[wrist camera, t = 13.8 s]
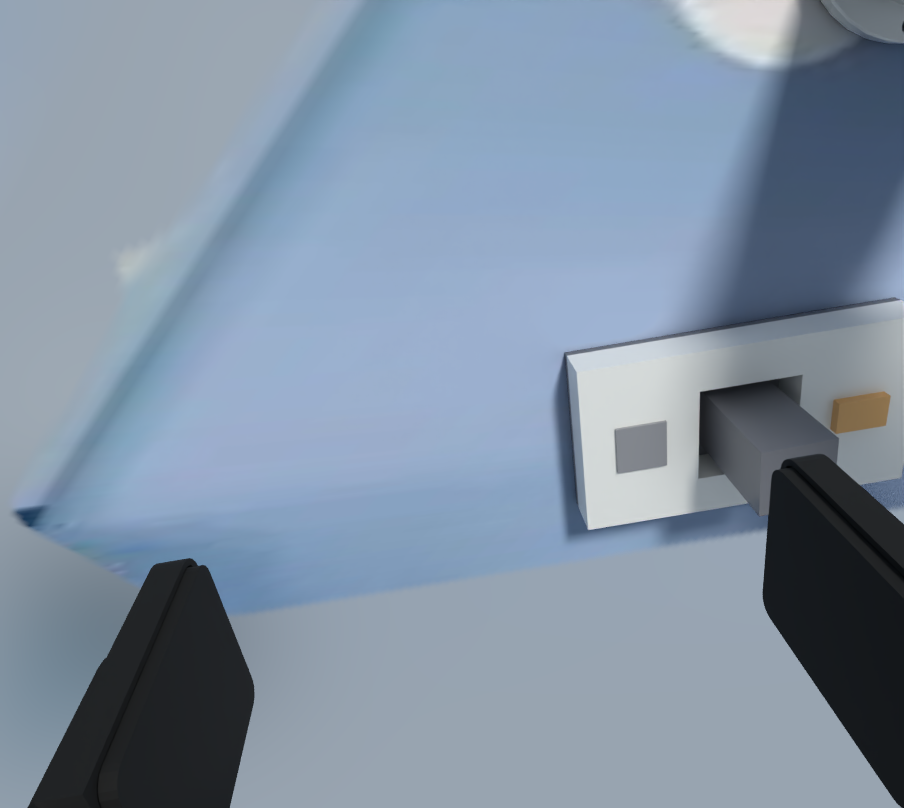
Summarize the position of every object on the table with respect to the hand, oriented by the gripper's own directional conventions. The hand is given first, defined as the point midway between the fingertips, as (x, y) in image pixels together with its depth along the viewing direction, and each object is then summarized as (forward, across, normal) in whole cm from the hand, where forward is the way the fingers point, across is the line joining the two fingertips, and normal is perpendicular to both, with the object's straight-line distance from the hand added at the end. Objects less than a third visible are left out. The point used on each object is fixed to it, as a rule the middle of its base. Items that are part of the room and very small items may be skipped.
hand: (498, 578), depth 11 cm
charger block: (+28, -17, +14) cm, 35 cm away
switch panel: (+28, -17, +14) cm, 36 cm away
